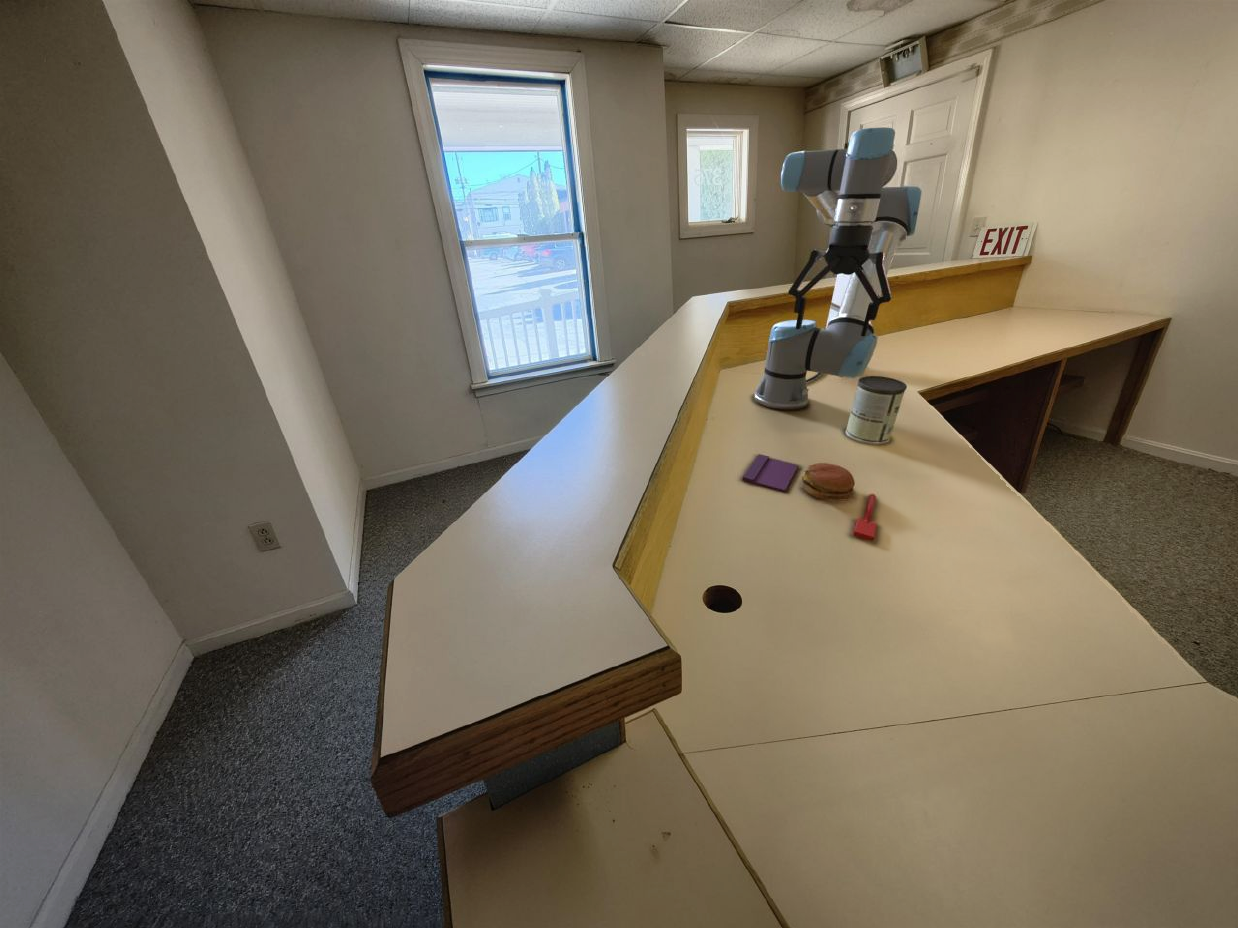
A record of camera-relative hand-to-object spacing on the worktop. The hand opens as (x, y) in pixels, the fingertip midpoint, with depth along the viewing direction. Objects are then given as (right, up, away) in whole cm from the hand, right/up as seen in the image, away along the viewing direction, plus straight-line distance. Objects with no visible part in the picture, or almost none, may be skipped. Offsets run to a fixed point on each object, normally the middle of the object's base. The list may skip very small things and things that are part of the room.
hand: (829, 331), depth 101 cm
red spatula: (0, -39, -15) cm, 42 cm away
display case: (+33, +6, +64) cm, 72 cm away
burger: (-4, -35, -8) cm, 36 cm away
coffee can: (+16, -23, +14) cm, 31 cm away
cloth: (-14, -32, -2) cm, 35 cm away
